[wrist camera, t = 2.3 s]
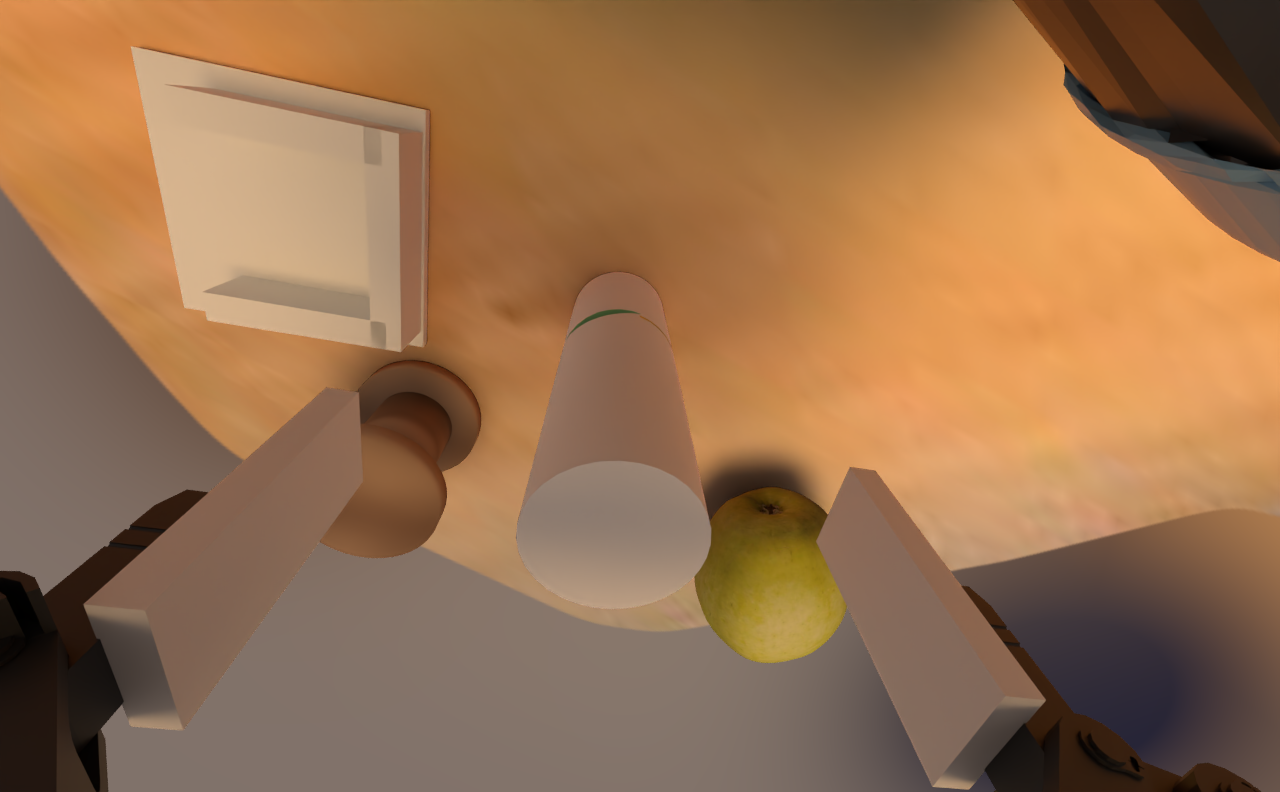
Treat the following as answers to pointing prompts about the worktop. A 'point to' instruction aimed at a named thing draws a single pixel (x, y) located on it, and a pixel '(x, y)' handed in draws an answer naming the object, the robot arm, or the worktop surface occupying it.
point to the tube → (615, 460)
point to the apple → (769, 577)
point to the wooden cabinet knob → (405, 458)
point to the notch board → (291, 201)
